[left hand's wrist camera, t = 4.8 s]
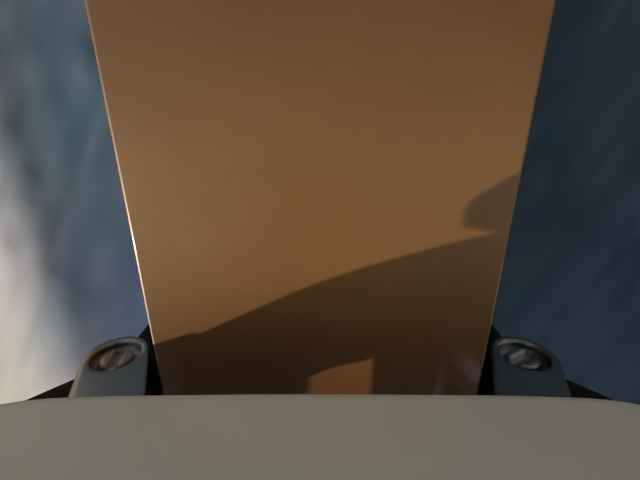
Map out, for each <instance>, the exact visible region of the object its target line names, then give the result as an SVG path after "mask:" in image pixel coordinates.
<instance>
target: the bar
mask: <svg viewBox="0 0 640 480" xmlns="http://www.w3.org/2000/svg"><path fill="white" fill-rule="evenodd" d="M555 2H556V0H85V4H86V9H87V14H88V19H89V24H90V29H91V34H92V39H93V44H94V49H95V54H96V59H97V64H98V69H99V74H100V79H101V84H102V89H103V95H104V100H105V105H106V110H107V115H108V120H109V125H110V130H111V135H112V140H113V145H114V150H115V155H116V160H117V165H118V170H119V175H120V180H121V185H122V190H123V195H124V200H125V205H126V210H127V215H128V220H129V225H130V230H131V235H132V240H133V245H134V250H135V256H136V261H137V266H138V271H139V276H140V281H141V286H142V291H143V296H144V301H145V306H146V311H147V316H148V321H149V326H150V331H151V336H152V341H153V346H154V351H155V356H156V361H157V366H158V371H159V376H160V381H161V386H162V391H163V395H244V394H381V395H477V393H478V388H479V383H480V378H481V373H482V368H483V363H484V358H485V353H486V348H487V343H488V338H489V333H490V328H491V323H492V318H493V313H494V308H495V303H496V298H497V293H498V288H499V283H500V278H501V273H502V268H503V263H504V258H505V253H506V248H507V243H508V238H509V233H510V228H511V223H512V218H513V213H514V208H515V203H516V198H517V193H518V188H519V183H520V178H521V173H522V168H523V163H524V158H525V153H526V148H527V143H528V138H529V133H530V128H531V123H532V118H533V113H534V108H535V103H536V98H537V93H538V88H539V83H540V78H541V73H542V68H543V63H544V58H545V53H546V48H547V43H548V38H549V33H550V28H551V23H552V18H553V13H554V7H555Z"/></svg>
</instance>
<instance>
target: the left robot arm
mask: <svg viewBox="0 0 640 480" xmlns="http://www.w3.org/2000/svg"><path fill="white" fill-rule="evenodd" d="M0 480H640V405H638V404H633V403H627V402H621V401H615V400H612V399H610V398H608V397H605V396H603V395H601V394H599V393H596V392H594V391H592V390H589V389H587V388H585V387H582V386H580V385H578V384H576V383H573V382H571V381H569V380H566V379H565V376H564V374H563V371H562V368H561V365H560V362H559V361H558V359H557V357H556V356H555V355H554V354H553V353H552V352H551V351H550V350H548V349H546V348H545V347H543V346H542V345H540V344H537V343H535V342H533V341H530V340H527V339H523V338H518V337H501V335H500V334H499V333H498V332H497V330H496V329H495V328H494V327H493V325H492V324H491V328H490V333H489V338H488V343H487V348H486V353H485V358H484V363H483V368H482V373H481V378H480V383H479V388H478V393H477V395H381V394H244V395H163V391H162V386H161V381H160V376H159V371H158V366H157V361H156V356H155V351H154V346H153V341H152V336H151V331H150V326H149V324H148V326H147V327H146V328H145V329H144V331H143V332H142V333H141V334H140V336H139V337H122V338H117V339H113V340H110V341H107V342H105V343H103V344H100V345H98V346H97V347H95V348H94V349H92V350H90V351H89V352H88V353H87V354H86V355H85V356H84V357H83V359H82V361H81V362H80V365H79V368H78V371H77V374H76V376H75V379H74V380H72V381H69V382H67V383H65V384H62V385H60V386H58V387H55V388H53V389H51V390H49V391H46V392H44V393H42V394H39V395H37V396H35V397H32V398H30V399H28V400H26V401H19V402H13V403H7V404H1V405H0Z"/></svg>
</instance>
